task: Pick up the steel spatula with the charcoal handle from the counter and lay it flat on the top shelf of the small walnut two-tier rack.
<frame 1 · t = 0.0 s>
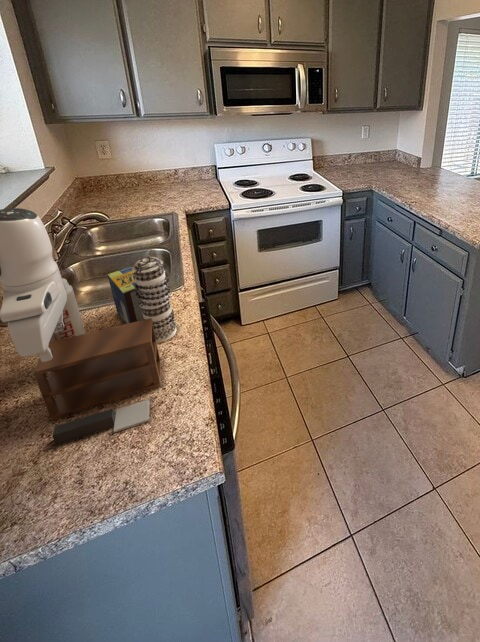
hand: (54, 344, 75), 20 cm above the counter, tool pointing down, fingers open, 8 cm apart
rack: (111, 387, 90), on the counter
protein box: (142, 318, 116), on the counter
spatula: (100, 426, 79), on the counter
decorative candle: (162, 333, 109), on the counter
thermos bottle: (75, 362, 98), on the counter
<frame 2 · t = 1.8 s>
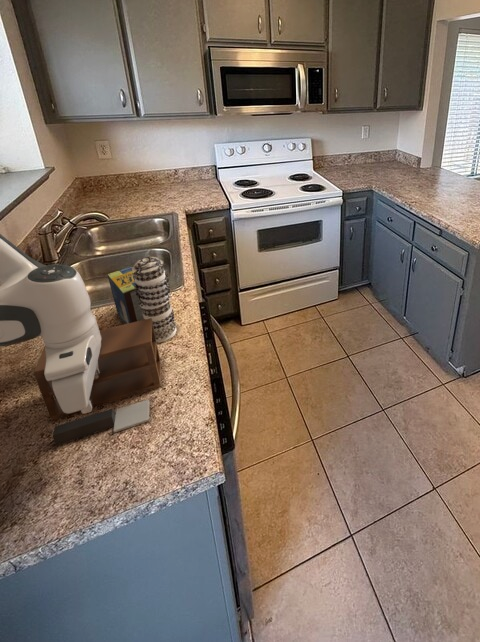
hand: (91, 392, 76), 10 cm above the counter, tool pointing down, fingers open, 8 cm apart
nothing on the counter moved.
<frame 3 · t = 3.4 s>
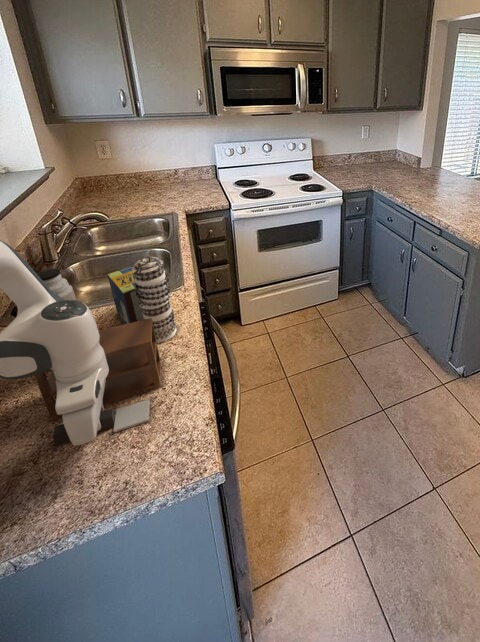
hand: (98, 421, 79), 2 cm above the counter, tool pointing down, fingers closed on spatula, 2 cm apart
spatula: (100, 426, 79), on the counter, touching gripper
everything else where it was.
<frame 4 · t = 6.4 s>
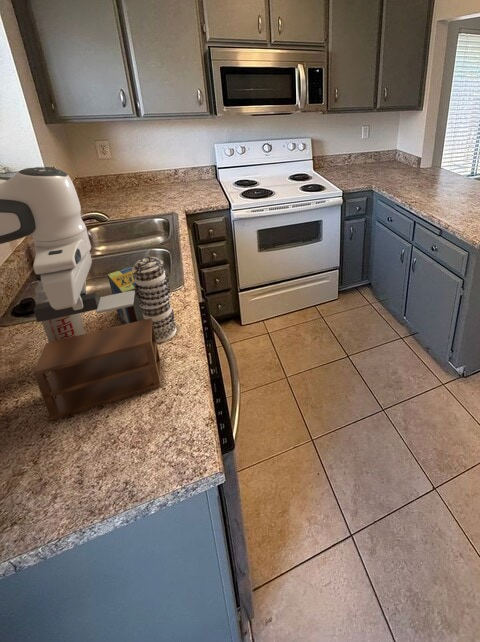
hand: (80, 303, 78), 27 cm above the counter, tool pointing down, fingers closed on spatula, 2 cm apart
spatula: (83, 309, 78), point 25 cm above the counter, touching gripper
everything else where it was.
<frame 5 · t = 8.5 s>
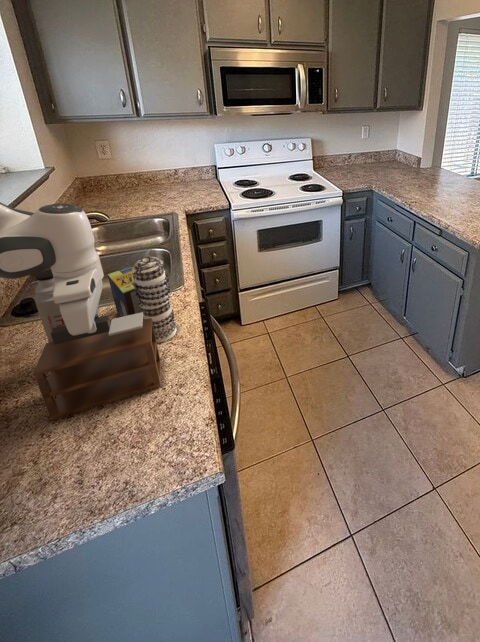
hand: (94, 326, 83), 19 cm above the counter, tool pointing down, fingers closed on spatula, 2 cm apart
spatula: (96, 331, 84), point 17 cm above the counter, touching gripper
everything else where it was.
when the fingers open (16 cm above the counter, at t = 9.5 s): spatula stays where it is, resting on rack.
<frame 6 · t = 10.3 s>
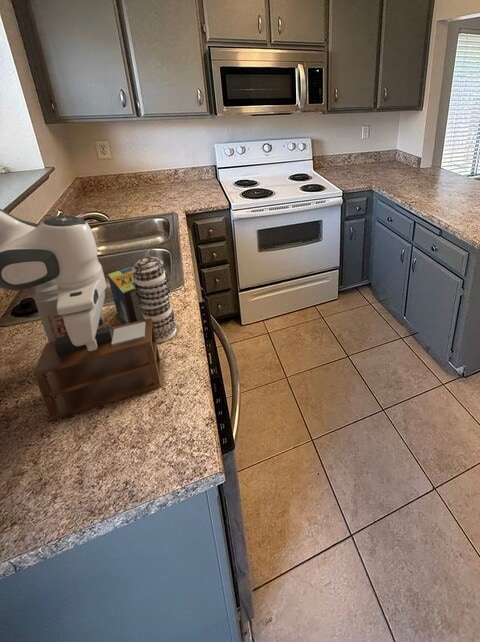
hand: (96, 335, 84), 16 cm above the counter, tool pointing down, fingers open, 8 cm apart
spatula: (98, 342, 85), point 14 cm above the counter, touching rack
everything else where it was.
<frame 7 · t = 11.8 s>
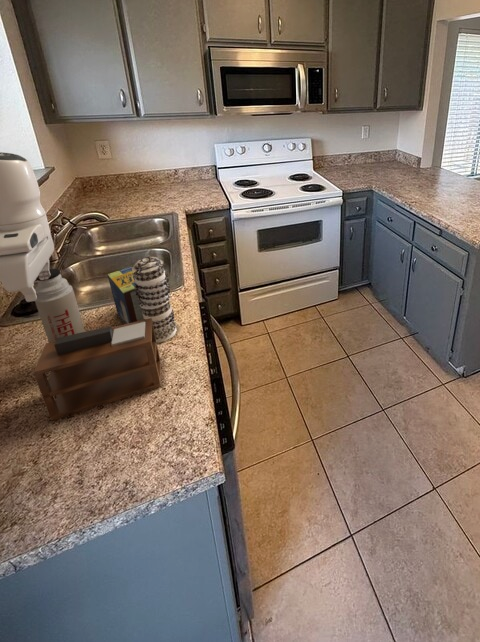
hand: (39, 288, 78), 30 cm above the counter, tool pointing down, fingers open, 8 cm apart
nothing on the counter moved.
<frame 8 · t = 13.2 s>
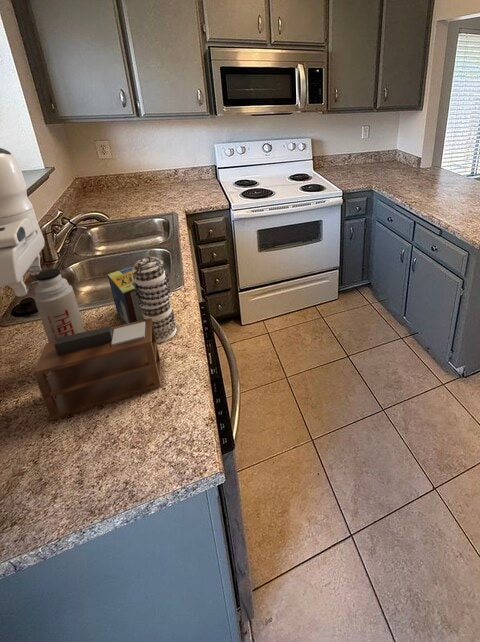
hand: (30, 283, 78), 31 cm above the counter, tool pointing down, fingers open, 8 cm apart
nothing on the counter moved.
at the end: spatula inside the target area on the rack (0.1 cm from its centre), point 14.0 cm above the rack's base; spatula tilted 0°; the gripper is holding nothing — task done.
